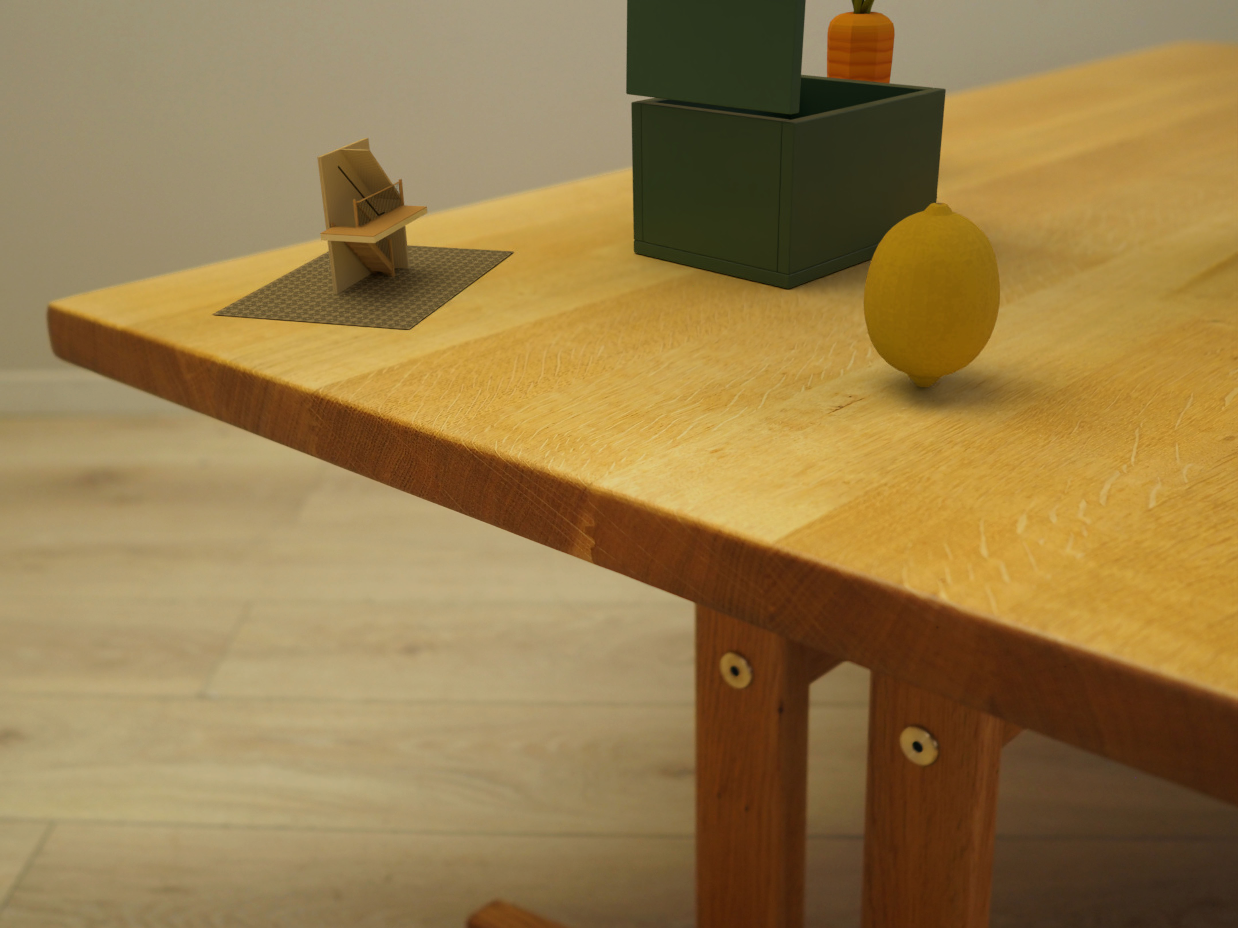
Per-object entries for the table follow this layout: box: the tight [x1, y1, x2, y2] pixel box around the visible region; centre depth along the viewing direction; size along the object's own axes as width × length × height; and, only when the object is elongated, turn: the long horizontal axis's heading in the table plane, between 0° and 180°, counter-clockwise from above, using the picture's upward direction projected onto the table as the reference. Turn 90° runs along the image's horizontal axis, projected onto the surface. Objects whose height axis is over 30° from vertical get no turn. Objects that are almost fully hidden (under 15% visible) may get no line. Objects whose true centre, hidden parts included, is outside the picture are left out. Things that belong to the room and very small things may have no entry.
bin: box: [630, 74, 947, 290], centre depth 74 cm, size 15×12×9 cm
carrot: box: [826, 0, 896, 83], centre depth 92 cm, size 5×5×15 cm
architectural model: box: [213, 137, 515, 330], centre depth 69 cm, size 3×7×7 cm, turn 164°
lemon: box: [863, 202, 1001, 388], centre depth 53 cm, size 6×6×8 cm
